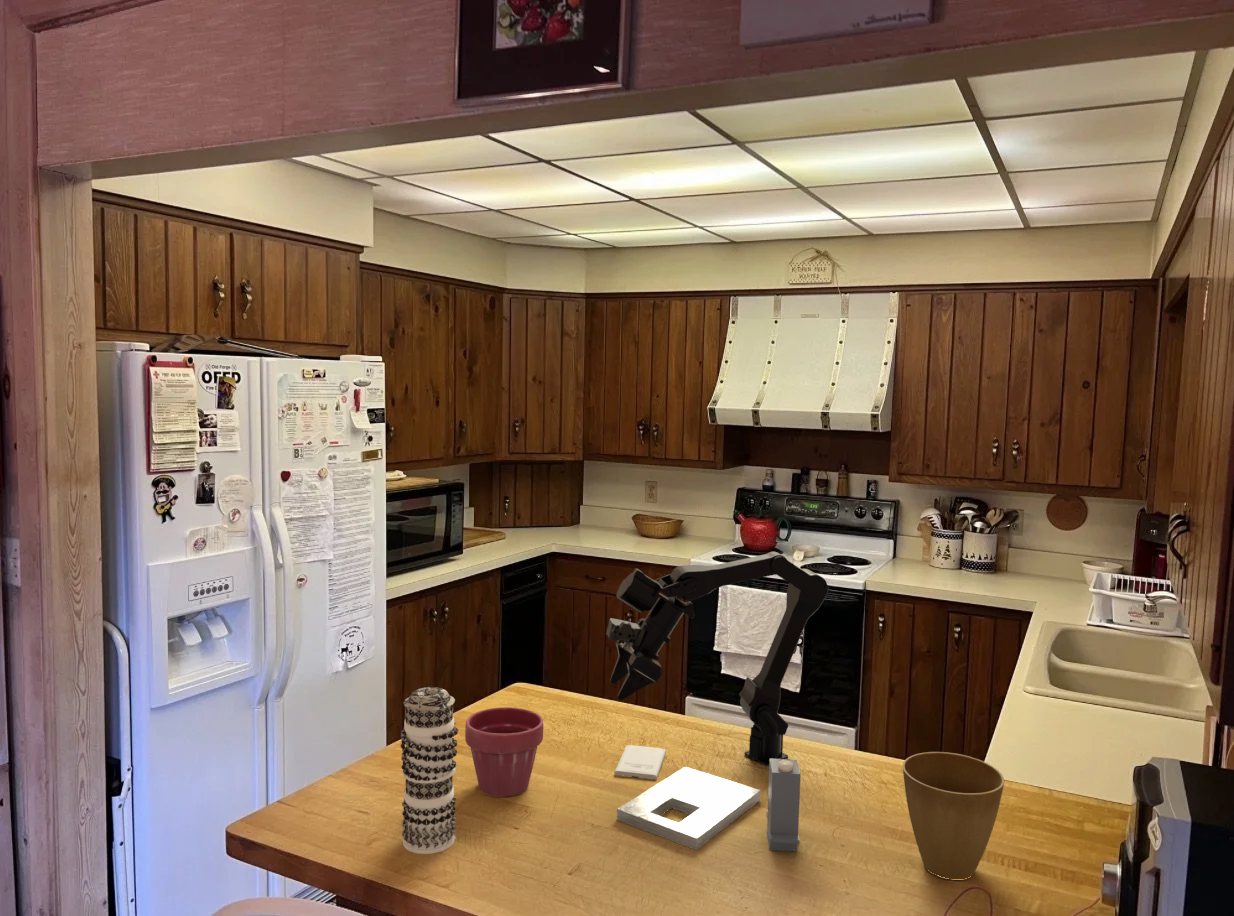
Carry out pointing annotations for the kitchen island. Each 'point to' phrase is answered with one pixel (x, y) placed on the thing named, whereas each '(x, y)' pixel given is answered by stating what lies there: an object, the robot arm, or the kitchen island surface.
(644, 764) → the external hard drive
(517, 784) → the plant pot
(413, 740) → the decorative candle
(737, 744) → the kitchen island surface
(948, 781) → the plant pot
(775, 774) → the block
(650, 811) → the plate
